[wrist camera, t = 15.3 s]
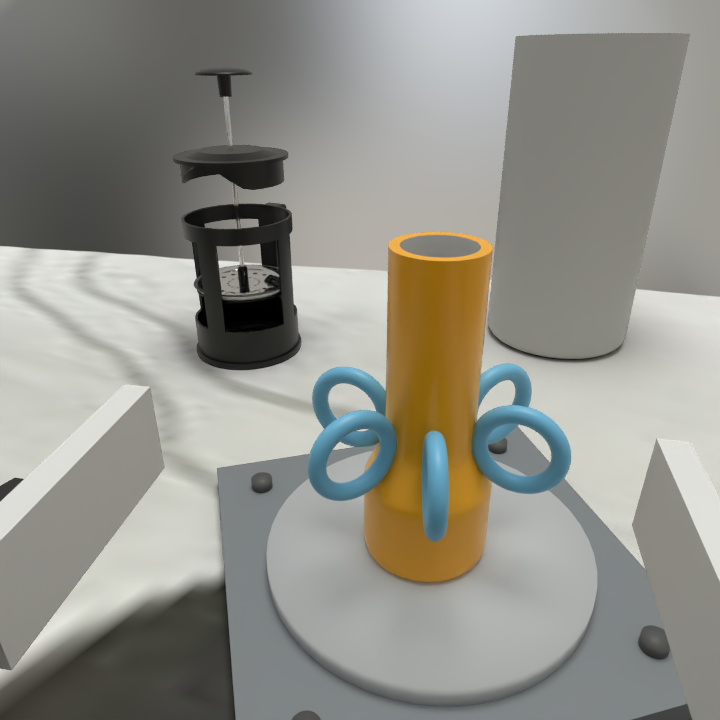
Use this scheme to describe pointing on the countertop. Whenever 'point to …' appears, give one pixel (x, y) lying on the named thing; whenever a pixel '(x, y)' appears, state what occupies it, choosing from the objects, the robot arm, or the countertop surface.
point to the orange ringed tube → (432, 416)
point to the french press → (241, 254)
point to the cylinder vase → (579, 186)
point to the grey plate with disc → (436, 609)
